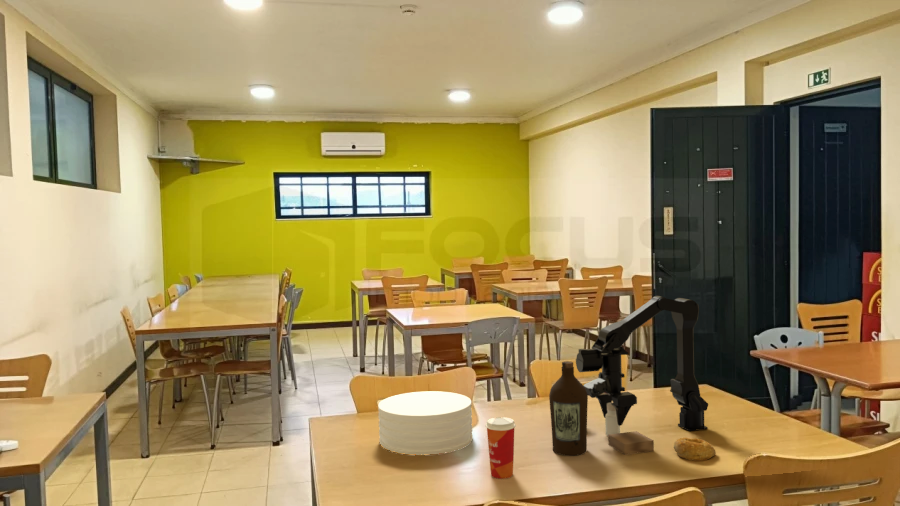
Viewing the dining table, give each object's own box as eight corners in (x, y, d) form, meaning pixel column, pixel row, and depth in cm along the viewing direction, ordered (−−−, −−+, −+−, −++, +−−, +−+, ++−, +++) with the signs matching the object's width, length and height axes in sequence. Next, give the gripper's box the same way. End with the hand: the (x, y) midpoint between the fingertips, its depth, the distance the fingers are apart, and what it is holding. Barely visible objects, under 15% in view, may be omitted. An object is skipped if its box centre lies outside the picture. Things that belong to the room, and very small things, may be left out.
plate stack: (491, 437, 203) (490, 400, 203) (426, 463, 183) (424, 421, 183) (426, 421, 223) (425, 387, 222) (360, 443, 202) (358, 405, 202)
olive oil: (553, 443, 196) (551, 358, 195) (590, 445, 193) (588, 359, 192) (547, 455, 186) (545, 365, 185) (586, 458, 182) (584, 366, 181)
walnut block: (636, 441, 195) (636, 431, 195) (653, 451, 187) (653, 440, 186) (608, 444, 193) (608, 434, 193) (624, 454, 184) (624, 444, 184)
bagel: (722, 461, 178) (721, 443, 177) (680, 462, 178) (680, 444, 177) (708, 449, 187) (707, 432, 187) (668, 450, 188) (668, 433, 187)
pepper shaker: (620, 433, 203) (619, 402, 202) (619, 437, 199) (618, 405, 199) (606, 432, 204) (606, 401, 204) (605, 436, 200) (604, 405, 200)
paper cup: (485, 470, 176) (483, 417, 175) (514, 468, 176) (512, 415, 176) (489, 481, 168) (487, 426, 167) (519, 479, 169) (518, 424, 168)
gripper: (573, 366, 208) (574, 416, 208) (602, 378, 190) (603, 433, 190) (605, 363, 211) (607, 412, 211) (637, 375, 193) (638, 429, 193)
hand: (612, 421), depth 201 cm, fingers open, 8 cm apart
